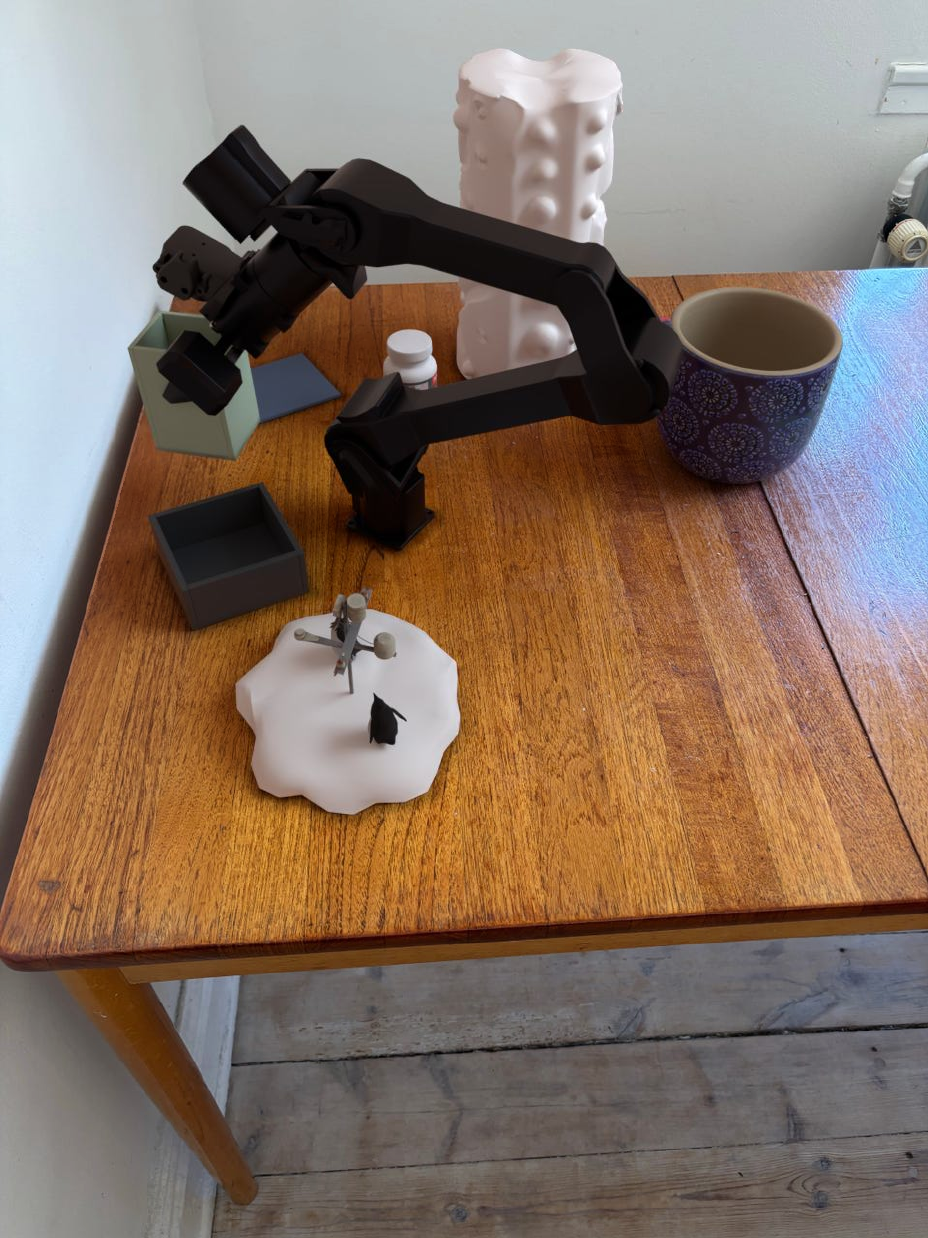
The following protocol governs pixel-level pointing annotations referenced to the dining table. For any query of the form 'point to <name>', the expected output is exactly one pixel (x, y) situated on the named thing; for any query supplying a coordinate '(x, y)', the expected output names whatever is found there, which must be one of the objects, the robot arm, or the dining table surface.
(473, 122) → the vase
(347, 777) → the figurine
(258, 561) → the charcoal basket
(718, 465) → the planter
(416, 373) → the pill bottle
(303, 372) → the mat
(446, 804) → the dining table surface
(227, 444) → the green basket
